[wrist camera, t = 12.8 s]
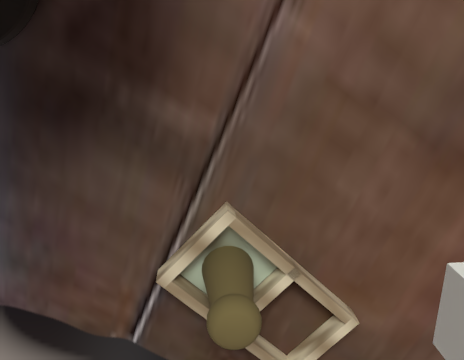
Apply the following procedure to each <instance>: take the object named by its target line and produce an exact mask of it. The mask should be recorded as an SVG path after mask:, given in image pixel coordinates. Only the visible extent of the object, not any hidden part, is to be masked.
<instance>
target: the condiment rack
mask: <svg viewBox="0 0 464 360" xmlns="http://www.w3.org/2000/svg"><path fill="white" fill-rule="evenodd" d="M223 246H235V247H238V248H241V249H243V250H244V251H245V252H247V253H248V254H249V256H250V257H251V259H252V262H253V265H254V288H255V289H254V297H253V301H254V303H255V304H256V305H257V307H258V308H259V311H261V310H262V309H263V308H264V307H266V306H267V305H268V304H269V303H270V302H271V301H272V300H273V299H274V298H276V297H277V296H278V295H279V294H280V293H281V292H282V291H283V290H284V289H285V288H287V287H288V286H289V285H290V284H291V283H292V282H293V281H295V282H296V283H297V284H298V285H300V286H301V287H302V288H303V289H304V290H306V291H307V292H308V293H309V294H310V295H311V296H313V297H314V298H315V299H316V300H317V301H319V302H320V303H321V304H322V305H323V306H325V307H326V308H327V309H328V310H329V311H330V312H332V313H333V314H334V315H333V316H332V317H331V318H330V319H328V320H327V321H326V322H325V323H324V324H323V325H321V326H320V327H319V328H318V329H317V330H316V331H315V332H313V333H312V334H311V335H310V336H309V337H308V338H306V339H305V340H304V341H303V342H302V343H301V344H299V345H298V346H297V347H296V348H295V349H294V350H292V351H291V352H290V353H289V354H288V355H285V354H284V353H283V352H281V351H280V350H279V349H277V348H276V347H275V346H273V345H272V344H271V343H269V342H268V341H267V340H265V339H264V338H263V337H262V336H260V335H258V337H257V338H256V340H255V341H254V342H253V343H252V344H251V345H249V346H247V347H246V349H247V350H248V351H250V352H251V353H252V354H254V355H255V356H257V357H258V358H259V359H261V360H316V359H318V358H319V357H320V356H321V355H322V354H323V353H325V352H326V351H327V350H328V349H329V348H331V347H332V346H333V345H334V344H335V343H337V342H338V341H339V340H340V339H341V338H342V337H344V336H345V335H346V334H347V333H348V332H350V331H351V330H352V329H353V328H354V327H355V326H357V325H358V324H359V321H358V320H357V318H356V316H355V314H354V313H353V311H352V309H350V308H349V307H348V306H347V305H346V304H345V303H343V302H342V301H341V300H340V299H339V298H338V297H336V296H335V295H334V294H333V293H332V292H331V291H330V290H328V289H327V288H326V287H325V286H324V285H323V284H321V283H320V282H319V281H318V280H317V279H316V278H314V277H313V276H312V275H311V274H310V273H309V272H307V271H306V270H305V269H304V268H303V267H302V266H301V265H299V264H298V263H297V262H296V261H295V260H294V259H292V258H291V257H290V256H289V255H288V254H287V253H285V252H284V251H283V250H282V249H281V248H280V247H279V246H277V245H276V244H275V243H274V242H273V241H272V240H270V239H269V238H268V237H267V236H266V235H265V234H263V233H262V232H261V231H260V230H259V229H258V228H257V227H255V226H254V225H253V224H252V223H251V222H250V221H248V220H247V219H246V218H245V217H244V216H243V215H241V214H240V213H239V212H238V211H237V210H236V209H234V208H233V207H232V206H231V205H230V204H229V203H228V202H226V203H225V204H224V205H223V206H222V207H221V208H220V209H219V210H218V211H217V212H216V213H215V214H214V215H213V216H212V217H211V218H210V219H209V220H208V221H207V222H206V223H205V224H204V225H203V226H202V227H201V228H200V229H199V230H198V231H197V232H196V233H195V234H194V235H193V236H192V237H191V238H190V239H189V240H188V241H187V242H186V243H185V244H184V245H183V246H182V247H181V248H180V249H179V250H178V251H177V252H176V253H175V254H174V255H173V256H172V257H171V258H170V259H169V260H168V261H167V262H166V263H165V264H164V265H163V266H162V267H161V268H160V269H159V270H158V273H157V278H156V283H157V284H159V285H160V286H162V287H163V288H164V289H166V290H167V291H168V292H170V293H171V294H172V295H174V296H175V297H176V298H178V299H179V300H181V301H182V302H183V303H185V304H186V305H187V306H189V307H190V308H191V309H193V310H194V311H195V312H197V313H198V314H200V315H201V316H202V317H204V318H205V319H206V320H207V314H208V311H209V309H210V303H209V299H208V295H206V294H207V291H206V287H205V283H204V280H203V276H202V264H203V261H204V259H205V257H206V256H207V255H208V254H209V253H210V252H211V251H213V250H215V249H216V248H219V247H223ZM180 274H181V275H182V276H181V275H180ZM267 276H268V277H267ZM184 277H185V278H186V279H185V278H184ZM266 277H267V278H266ZM265 278H266V279H265ZM188 280H189V281H190V282H189V281H188ZM193 284H194V285H195V286H194V285H193ZM197 287H198V288H199V289H198V288H197ZM201 290H202V291H203V292H202V291H201ZM205 293H206V294H205Z"/></svg>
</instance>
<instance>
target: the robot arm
mask: <svg viewBox="0 0 464 360" xmlns="http://www.w3.org/2000/svg"><path fill="white" fill-rule="evenodd" d="M37 4H38V0H0V45H2V44H4V43H6V42H8V41H9V40H11V39H12V38H13V37H15V36H16V35H17V34H18V33H19V32H20V31H21V30H22V29H23V28H24V27H25V26H26V24H27V23H28V22H29V20H30V19H31V17H32V15H33V13H34V11H35V9H36V6H37ZM433 344H434V345H435V347H436V348H437V349H438V350H439V352H440V353H441V354H442V356H443V357H444V358H445V360H464V262H462V263H447V267H446V273H445V278H444V284H443V289H442V295H441V300H440V306H439V311H438V317H437V322H436V328H435V333H434V339H433Z"/></svg>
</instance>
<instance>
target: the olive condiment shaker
mask: <svg viewBox="0 0 464 360" xmlns="http://www.w3.org/2000/svg"><path fill="white" fill-rule="evenodd" d="M202 276H203V280H204V283H205V287H206V291H207V295H208V299H209V303H210V309H209V311H208V314H207V330H208V333H209V335H210V337H211V339H212V340H213V341H214V342H215V343H216V344H217V345H219V346H220V347H222V348H224V349H228V350H239V349H243V348H246V347H247V346H249V345H251V344H252V343H253V342H254V341H255V340H256V338H257V337H258V335H259V333H260V331H261V324H262V318H261V314H260V311H259V308H258V307H257V305H256V304H255V303H254V301H253V297H254V265H253V262H252V259H251V257H250V256H249V254H248V253H247V252H245V251H244V250H243V249H241V248H238V247H235V246H223V247H219V248H216V249H215V250H213V251H211V252H210V253H209V254H208V255H207V256H206V257H205V259H204V261H203V264H202Z"/></svg>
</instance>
